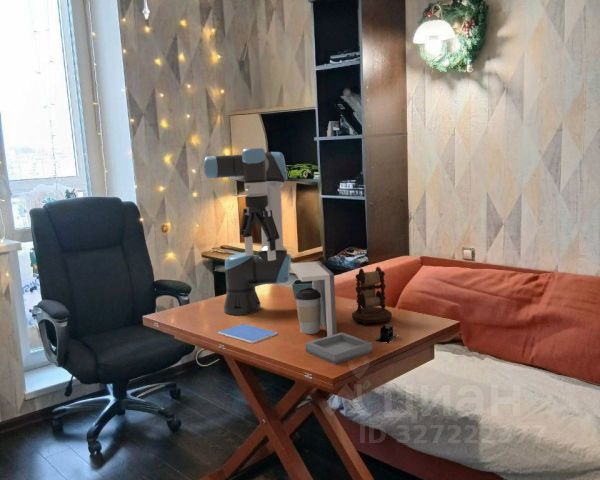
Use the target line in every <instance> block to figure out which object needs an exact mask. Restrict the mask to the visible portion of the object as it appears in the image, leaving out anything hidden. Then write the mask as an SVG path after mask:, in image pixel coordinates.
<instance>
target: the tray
mask: <svg viewBox="0 0 600 480" xmlns="http://www.w3.org/2000/svg"><path fill="white" fill-rule="evenodd" d="M305 352H306V353H308V354H309V355H312V356H315V357H318V358H320V359H322V360H324V361H327V362H329V363H330V364H334V365H337V364H338V365H339V364H341V363H343V362H347V361H349V360H353V359H356V358H359V356H360V357H362V355H363V356H366V355H369V354H372V353H373V343H372V342H370V341H367V340H364V339H361V338H358V337H356V336H353V335H350V334H348V333H345V332H337V334H335V335H331V336H327V335H326V336H324V337H321V338H317V339H315V340H310V341H307V342H305Z"/></svg>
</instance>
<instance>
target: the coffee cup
mask: <svg viewBox="0 0 600 480" xmlns="http://www.w3.org/2000/svg"><path fill="white" fill-rule="evenodd" d="M320 297H321V293H320V292H318V291H317V290H316V289H313V288H306V289H303V290H300V291H298V293H297V294H296V299H295V301H296V300H297V301H296V310H297V317H298V318H297V319H298V323H299V328H300V333H301V334H304V335H305V334H306V335H313V334H317V333H319V332H320V330H321V323H320V318H321V303H320Z"/></svg>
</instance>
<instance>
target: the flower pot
mask: <svg viewBox="0 0 600 480" xmlns="http://www.w3.org/2000/svg"><path fill="white" fill-rule="evenodd" d="M291 287H292V293H293V297H294V299H295V301H296V302H297V300H296V294H297V293H298V291H300V290H303V289H306V288H313V281H304V282H302V281H301V280H300V279H294V281H293V282H292V283H291Z"/></svg>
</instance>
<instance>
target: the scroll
mask: <svg viewBox="0 0 600 480" xmlns="http://www.w3.org/2000/svg"><path fill="white" fill-rule="evenodd" d="M385 273H386V272H385V271H383V270H382V269H381V267H380V266H377V267H376V268H375V271H366V272H365V271H364V269H363V268H360V269H359V271H358V273H357V274H355V280H356V287H355V291H356V294H357V295H356V298H357V299H356V303H357V304H356V306H357V309H356V310H355V311H353V312H352V313H351V318H352V320H354V321H356V322H359V323H360V322H362V323H363V325H364V326H366V325H367V323H380V322H385V321H387V323H390V321H391V319H392V317H393V314H392V312H391V311H390V310H389V309H387V308H386V301H385V300H386V298H387V297H386V293H385V290H386V284H385V275H386V274H385ZM379 283H380V284H379ZM379 289H380V290H381V291H379ZM376 290H377V291H376Z"/></svg>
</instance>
